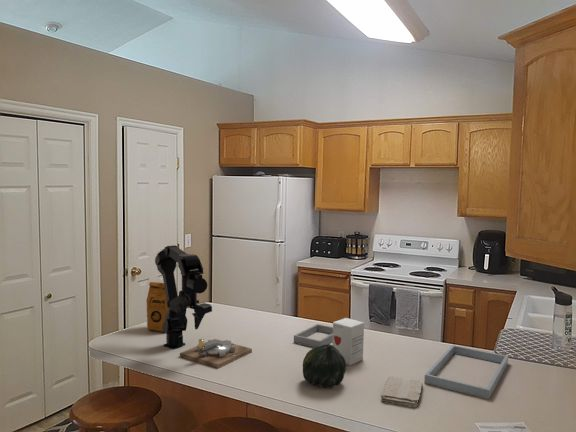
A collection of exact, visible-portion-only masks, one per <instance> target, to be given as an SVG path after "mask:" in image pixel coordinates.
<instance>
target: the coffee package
mask: <svg viewBox="0 0 576 432" xmlns="http://www.w3.org/2000/svg"><path fill="white" fill-rule="evenodd" d="M167 310H168V307H167V299H166V293H165V287H164V282H157V281H155V282H154V281H150V282H149V288H148V292H147V297H146V318H147V320H146V325H147V327H146V330H149V331H157V332H161V333H164V332H163V329H162V325H163V323H164V321H165V315H166V313H167Z"/></svg>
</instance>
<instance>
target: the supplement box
mask: <svg viewBox="0 0 576 432" xmlns="http://www.w3.org/2000/svg"><path fill="white" fill-rule="evenodd" d="M332 327H333V341H332V344H331V345H332V346H334V347H335V348H336V349H337V350H338V351H339V352H340V353H341V354H342V356H343V357H344V359H345V361H346V366H352V365H354V364H356V363H358V362H361V361H362V360H363V359H364V337H365V336H364V334H365V322H364V321H359V320H357V319H352V318H349V317H344V318H341V319H339V320H336V321H333V323H332Z"/></svg>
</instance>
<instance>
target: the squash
mask: <svg viewBox="0 0 576 432" xmlns="http://www.w3.org/2000/svg"><path fill="white" fill-rule="evenodd" d="M332 345H333V344H330V343H329V344H327V345H322V346H319V347H316V348H315V347H312V348H311V349H310V350H308V352H306V354H305V357H304V358H303V361H302V375H303V378H304V380H305V381H306V382H307V383H309V384H313V385H314V386H318V385H319V387H325V388H327V389H332V388H334V387H337V386H339V385H340V384H341V383H342V382H343V380H344V378H345V377H344V376H345V374H346V372H347V364H346V361H345V359H344V357H343V356H342V354H341V353H340V352H339V351H338V350H337V349H336V348H335V347H334V346H332Z"/></svg>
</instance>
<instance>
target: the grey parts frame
mask: <svg viewBox="0 0 576 432" xmlns="http://www.w3.org/2000/svg"><path fill="white" fill-rule="evenodd" d="M317 332H319V333H325V334H328V335H327V336H325V337H323V338H322V339H315V338H310V337H309V336H311V335H314V334H315V333H317ZM293 343H295V344H300V345H303V346H308V347H312V348H316V347H319V346H322V345H328V344H329V345H330V344H331V343H333V326H329V325H324V324H319V323H316V324H314V325H312V326H310V327H308V328H306V329H304V330H302V331H301V332H299V333H296V334H295V335H293Z"/></svg>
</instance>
